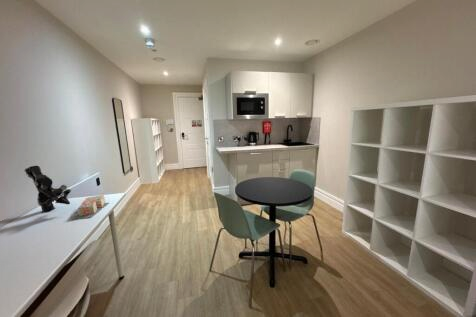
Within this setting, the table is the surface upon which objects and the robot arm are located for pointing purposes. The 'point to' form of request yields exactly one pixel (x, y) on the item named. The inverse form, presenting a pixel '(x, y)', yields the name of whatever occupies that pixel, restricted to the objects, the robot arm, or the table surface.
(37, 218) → the table surface
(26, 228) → the table surface
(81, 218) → the mat
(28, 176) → the robot arm
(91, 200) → the stack of blocks
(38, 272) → the table surface
